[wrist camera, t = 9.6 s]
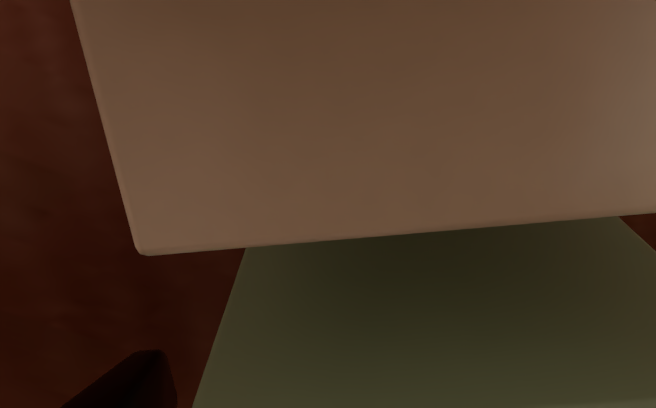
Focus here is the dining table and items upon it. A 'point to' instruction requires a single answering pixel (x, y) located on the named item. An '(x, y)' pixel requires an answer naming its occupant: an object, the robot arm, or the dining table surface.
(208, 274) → the dining table surface
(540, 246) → the green block
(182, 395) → the dining table surface
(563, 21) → the beech block
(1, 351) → the dining table surface
